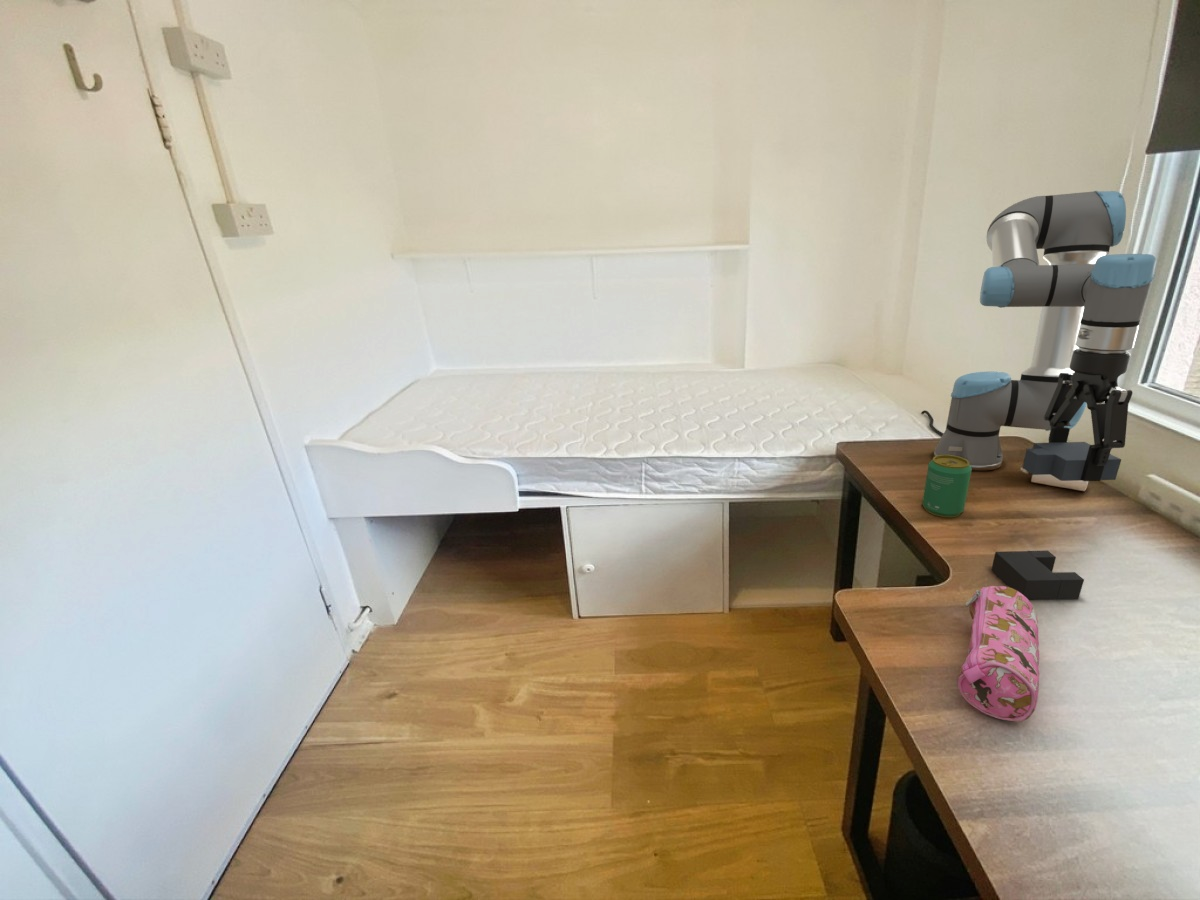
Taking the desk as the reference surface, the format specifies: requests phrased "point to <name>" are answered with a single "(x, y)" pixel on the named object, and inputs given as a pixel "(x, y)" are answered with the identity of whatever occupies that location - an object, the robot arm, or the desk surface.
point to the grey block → (1064, 461)
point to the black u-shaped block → (1036, 575)
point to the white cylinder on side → (1059, 482)
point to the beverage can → (946, 485)
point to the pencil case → (1001, 655)
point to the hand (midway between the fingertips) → (1071, 469)
